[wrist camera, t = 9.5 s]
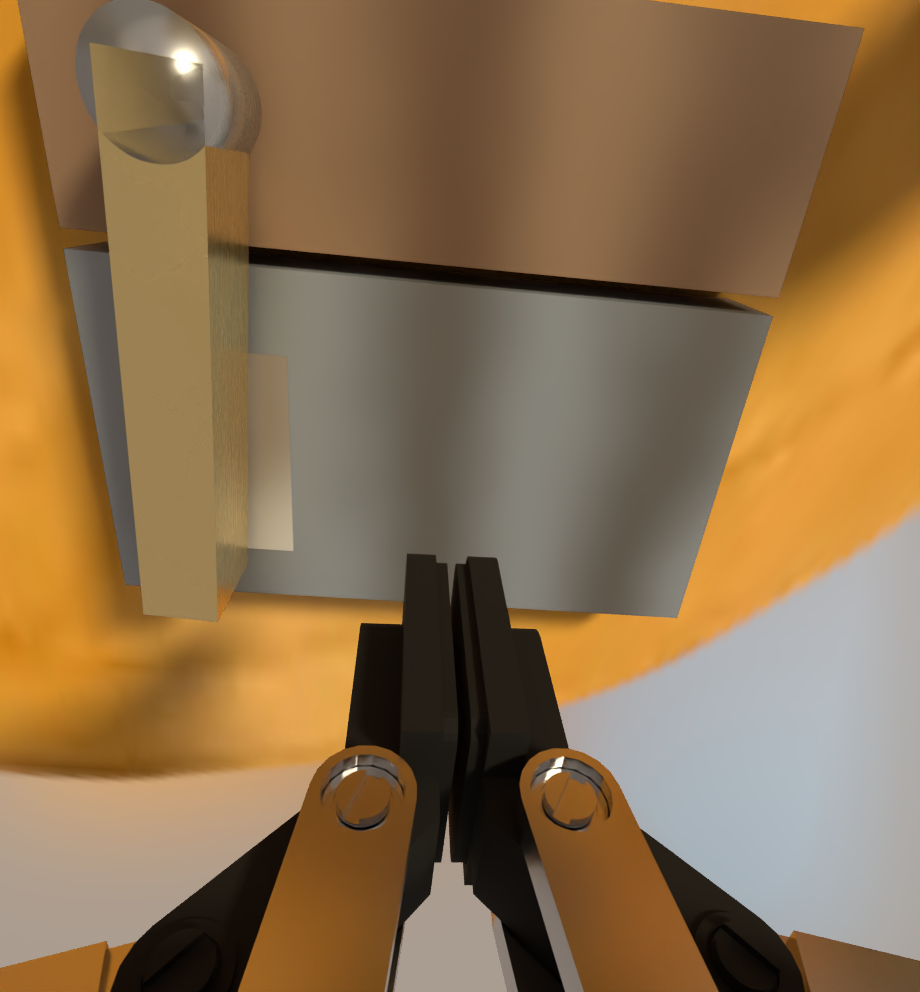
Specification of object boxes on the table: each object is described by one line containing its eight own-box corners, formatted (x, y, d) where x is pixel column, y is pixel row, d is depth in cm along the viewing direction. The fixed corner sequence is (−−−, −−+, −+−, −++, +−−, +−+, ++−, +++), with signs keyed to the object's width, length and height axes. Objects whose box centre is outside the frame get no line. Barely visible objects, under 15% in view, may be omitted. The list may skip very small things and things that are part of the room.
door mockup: (162, 538, 23) (124, 586, 20) (77, -37, 15) (0, -85, 13) (651, 570, 24) (677, 618, 22) (796, 53, 17) (866, 27, 14)
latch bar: (141, 23, 13) (66, -17, 11) (262, 47, 14) (218, 14, 11) (174, 554, 19) (132, 613, 17) (257, 563, 20) (228, 623, 17)
